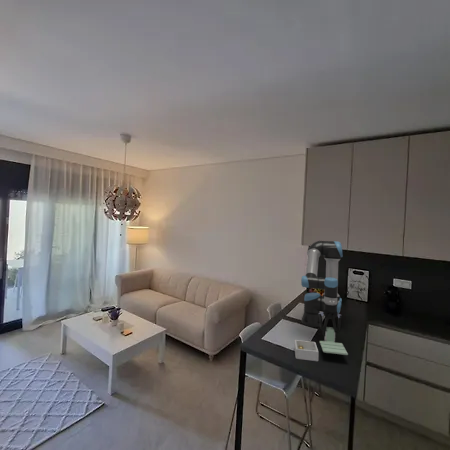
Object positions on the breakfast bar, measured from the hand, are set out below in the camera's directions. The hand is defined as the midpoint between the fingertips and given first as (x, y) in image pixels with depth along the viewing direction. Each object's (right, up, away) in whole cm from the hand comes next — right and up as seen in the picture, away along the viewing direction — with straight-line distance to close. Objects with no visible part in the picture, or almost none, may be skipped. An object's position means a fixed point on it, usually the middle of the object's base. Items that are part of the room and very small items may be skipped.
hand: (329, 341), depth 154 cm
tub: (-17, -5, -7) cm, 19 cm away
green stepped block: (-1, 0, -7) cm, 7 cm away
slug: (-19, -4, -4) cm, 20 cm away
